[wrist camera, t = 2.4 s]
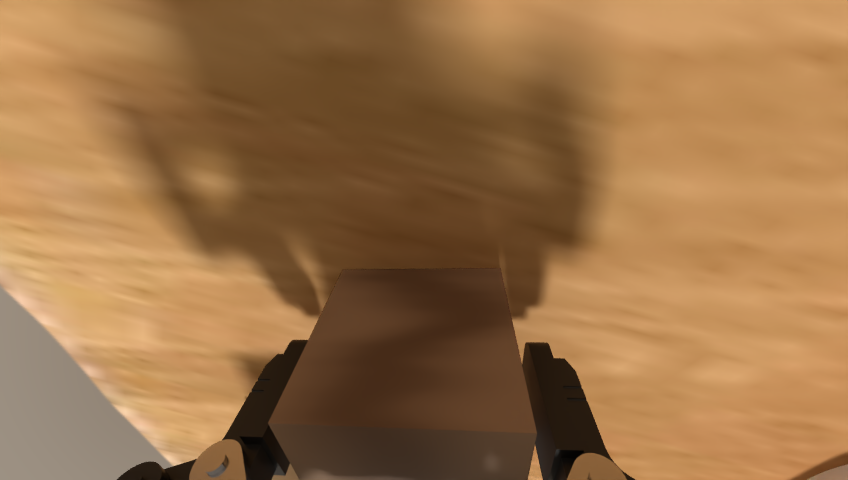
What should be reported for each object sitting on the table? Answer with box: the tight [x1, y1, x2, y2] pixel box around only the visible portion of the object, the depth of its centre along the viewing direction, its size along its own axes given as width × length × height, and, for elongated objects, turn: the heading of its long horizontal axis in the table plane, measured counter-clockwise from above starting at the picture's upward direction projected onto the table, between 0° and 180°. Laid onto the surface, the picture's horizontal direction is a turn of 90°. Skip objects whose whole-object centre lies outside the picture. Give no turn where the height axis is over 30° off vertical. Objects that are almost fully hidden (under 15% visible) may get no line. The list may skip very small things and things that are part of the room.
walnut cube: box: [268, 268, 537, 480], centre depth 11 cm, size 6×6×6 cm
